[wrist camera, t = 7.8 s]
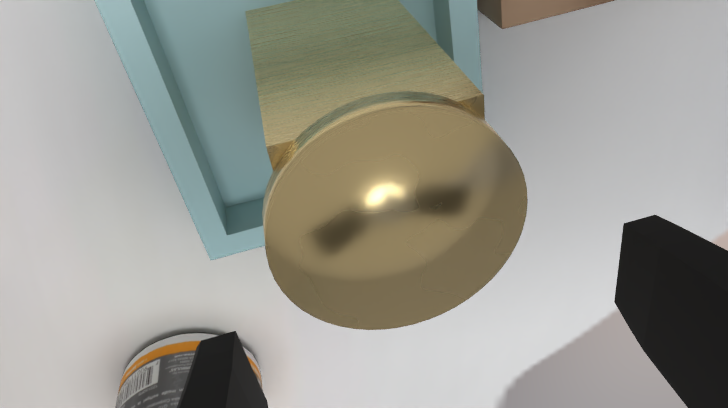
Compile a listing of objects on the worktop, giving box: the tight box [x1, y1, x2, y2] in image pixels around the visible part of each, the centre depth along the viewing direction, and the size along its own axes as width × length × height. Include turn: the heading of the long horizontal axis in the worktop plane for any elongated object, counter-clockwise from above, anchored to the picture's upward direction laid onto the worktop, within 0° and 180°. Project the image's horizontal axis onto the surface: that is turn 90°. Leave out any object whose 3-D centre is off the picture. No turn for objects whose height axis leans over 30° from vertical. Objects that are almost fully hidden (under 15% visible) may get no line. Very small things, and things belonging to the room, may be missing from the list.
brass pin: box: [245, 0, 527, 330], centre depth 15 cm, size 5×5×9 cm
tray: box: [95, 0, 483, 260], centre depth 18 cm, size 10×10×2 cm
